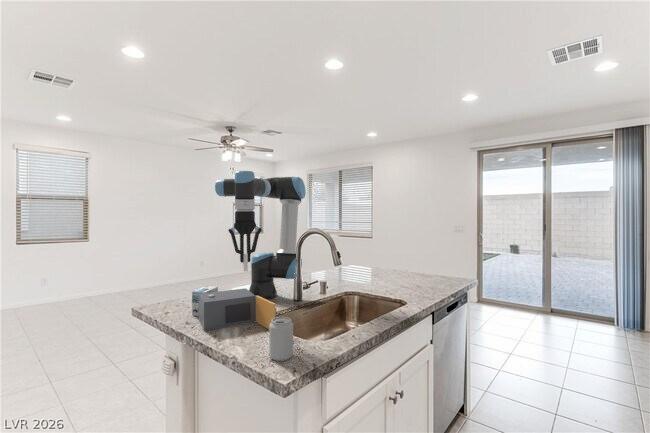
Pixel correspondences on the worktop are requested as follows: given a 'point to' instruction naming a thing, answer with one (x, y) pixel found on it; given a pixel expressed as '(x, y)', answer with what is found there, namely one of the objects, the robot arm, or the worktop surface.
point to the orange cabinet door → (264, 311)
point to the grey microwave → (226, 308)
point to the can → (281, 338)
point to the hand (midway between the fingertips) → (245, 270)
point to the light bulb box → (196, 297)
